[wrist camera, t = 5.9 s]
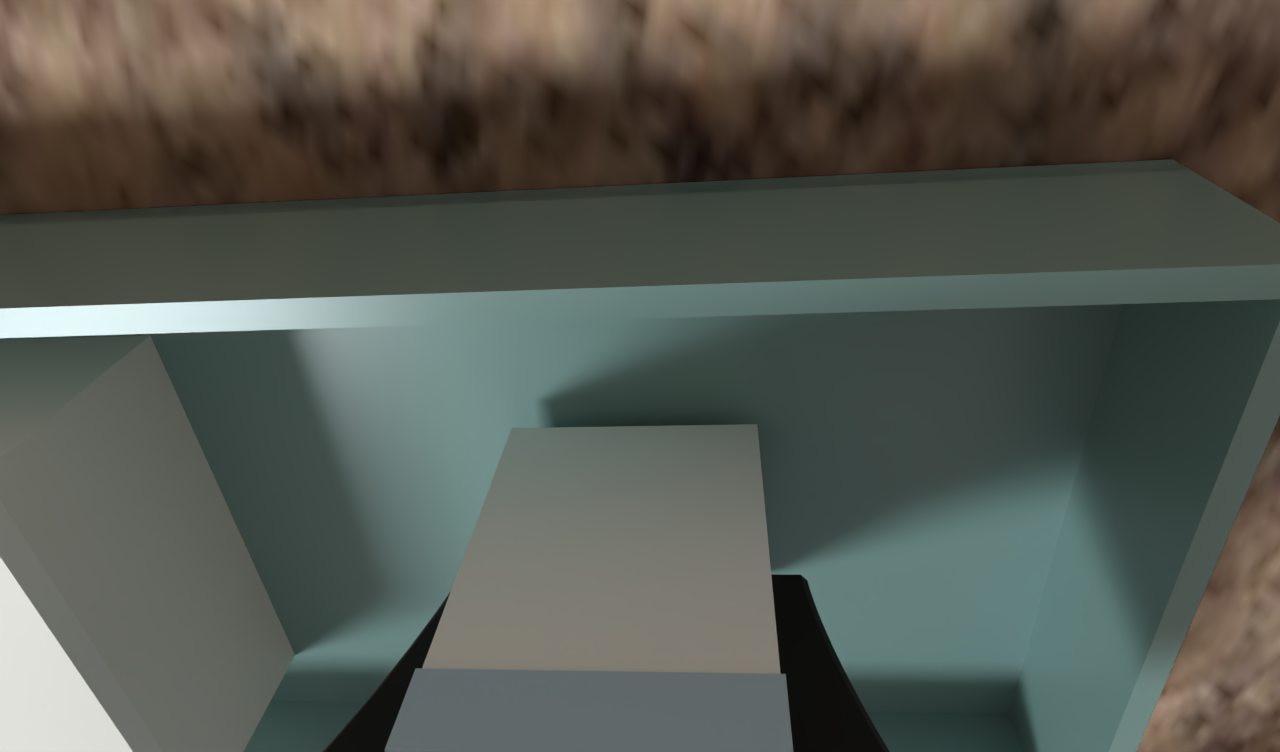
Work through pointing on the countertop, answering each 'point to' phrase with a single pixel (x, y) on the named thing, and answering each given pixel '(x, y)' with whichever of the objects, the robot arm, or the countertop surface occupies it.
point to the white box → (120, 564)
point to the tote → (732, 405)
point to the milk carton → (610, 602)
